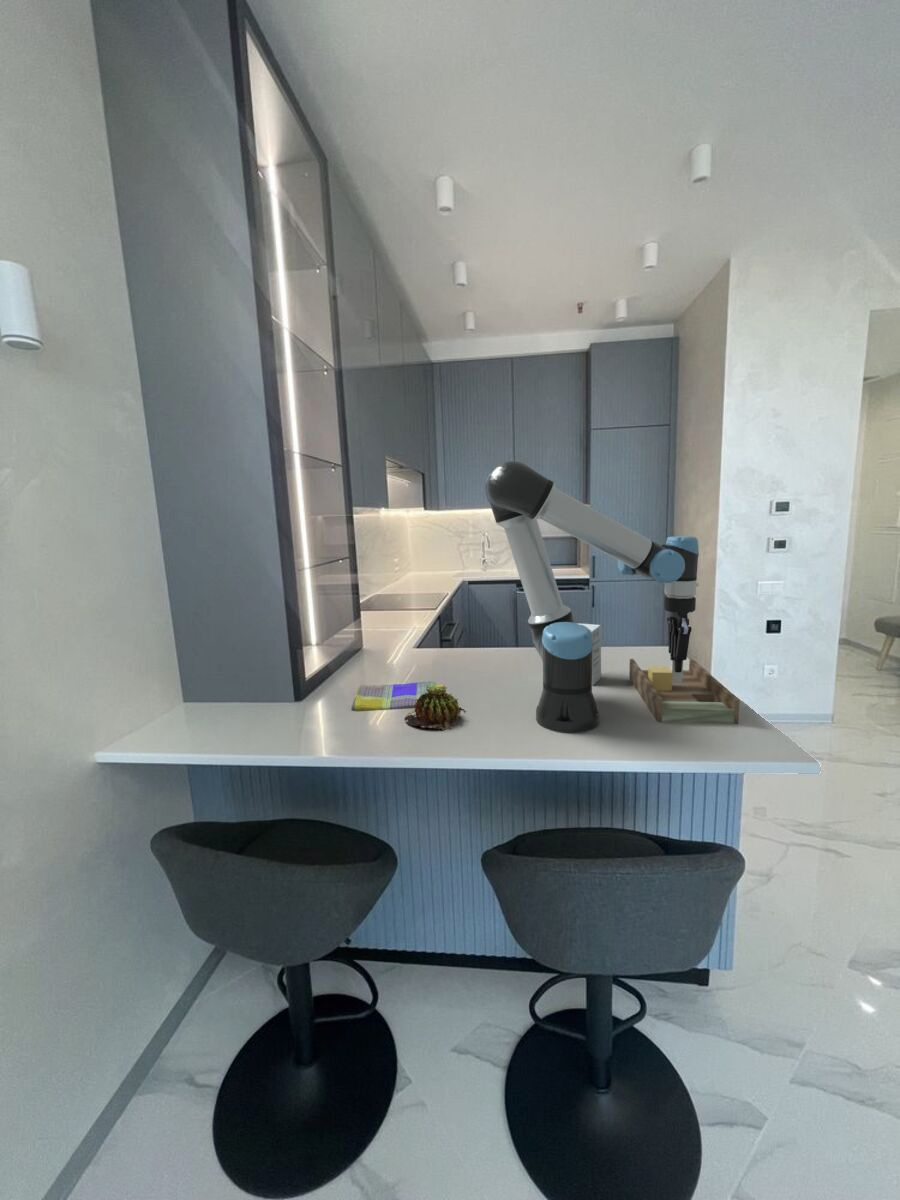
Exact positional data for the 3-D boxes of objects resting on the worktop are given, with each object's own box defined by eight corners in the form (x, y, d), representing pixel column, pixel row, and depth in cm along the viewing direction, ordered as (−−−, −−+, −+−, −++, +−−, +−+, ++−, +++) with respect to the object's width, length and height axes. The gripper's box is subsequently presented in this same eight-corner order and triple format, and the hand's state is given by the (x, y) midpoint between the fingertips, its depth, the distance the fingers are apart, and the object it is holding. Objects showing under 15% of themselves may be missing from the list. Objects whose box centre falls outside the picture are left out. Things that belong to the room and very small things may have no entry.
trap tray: (737, 726, 118) (739, 700, 116) (657, 724, 120) (658, 698, 119) (692, 680, 150) (693, 659, 149) (629, 679, 152) (629, 658, 151)
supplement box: (601, 677, 155) (602, 624, 152) (593, 687, 147) (593, 631, 144) (571, 673, 160) (571, 622, 157) (561, 682, 152) (561, 628, 149)
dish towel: (438, 710, 135) (438, 700, 135) (348, 714, 135) (347, 704, 135) (439, 688, 152) (439, 679, 152) (359, 691, 152) (358, 682, 152)
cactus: (478, 711, 133) (477, 675, 132) (462, 736, 118) (460, 697, 117) (417, 706, 138) (415, 672, 137) (394, 730, 123) (392, 692, 122)
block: (671, 690, 134) (672, 672, 133) (651, 690, 134) (652, 672, 134) (666, 684, 138) (667, 667, 138) (647, 684, 139) (648, 666, 138)
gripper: (704, 600, 124) (699, 691, 128) (687, 591, 136) (683, 674, 140) (672, 600, 125) (668, 690, 129) (658, 592, 138) (655, 674, 142)
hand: (676, 682), depth 135 cm, fingers closed
